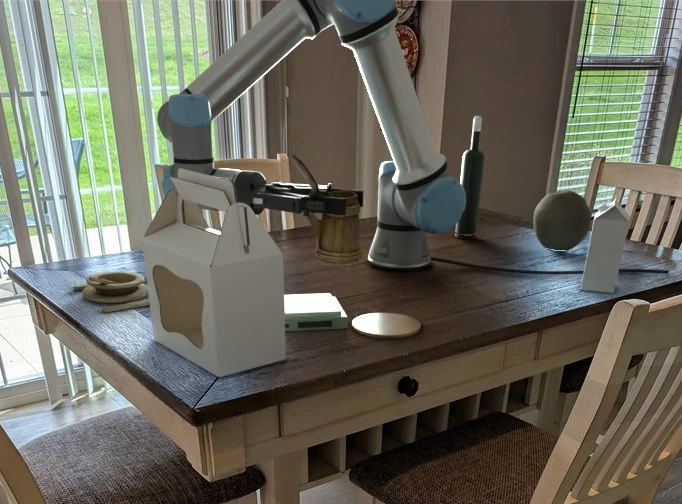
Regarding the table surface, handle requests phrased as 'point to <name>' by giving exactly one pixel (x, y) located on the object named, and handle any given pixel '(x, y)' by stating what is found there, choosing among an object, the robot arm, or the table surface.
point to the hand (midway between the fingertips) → (354, 202)
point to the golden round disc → (386, 325)
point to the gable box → (214, 279)
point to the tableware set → (115, 289)
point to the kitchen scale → (313, 312)
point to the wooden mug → (335, 225)
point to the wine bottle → (471, 184)
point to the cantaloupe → (561, 220)
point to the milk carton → (605, 248)
